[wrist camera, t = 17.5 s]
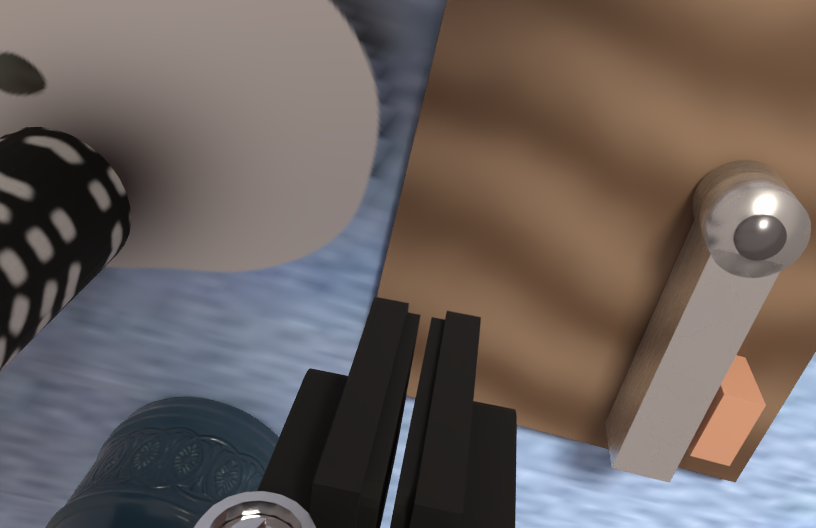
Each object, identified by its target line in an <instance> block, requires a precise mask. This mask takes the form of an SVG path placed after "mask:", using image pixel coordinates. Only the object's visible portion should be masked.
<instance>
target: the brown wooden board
mask: <svg viewBox="0 0 816 528" xmlns="http://www.w3.org/2000/svg"><path fill="white" fill-rule="evenodd" d="M738 160H752V161H757V162H761V163H763V164H766V165H768V166H769V167H771V168H772V169H773V170H775V171H776V172H777V173H778V175H779V176H780V177H781V178H782V180H783V181H784V182H785V184H786V185H787V186H788V188H789V189H790V190H791V191H792V193H793V194H794V195H795V197H796V198H797V199H798V201H799V202H800V203H801V204H802V206H803V207H804V208H805V210H806V211H807V213H808V216H809V218H810V223H811V235H810V239H809V242H808V244H807V247H806V248H805V250H804V252H803V253H802V254H801V256H800V257H799V258H798V259H797V260H796V261H795V262H794V263H793V264H791V265H790V266H789V267H787V268H785V269H784V270H782V271H780V273H779V275H778V277H777V278H776V280H775V282H774V284H773V286H772V288H771V290H770V292H769V294H768V296H767V298H766V299H765V301H764V303H763V305H762V307H761V309H760V311H759V313H758V315H757V317H756V318H755V320H754V322H753V324H752V326H751V328H750V330H749V332H748V334H747V336H746V338H745V339H744V341H743V343H742V345H741V347H740V349H739V351H738V353H737V355H738V356H741V357H745V358H746V360H747V362H748V365H749V367H750V369H751V372H752V374H753V376H754V379H755V381H756V383H757V385H758V388H759V390H760V392H761V395H762V397H763V399H764V402H765V404H766V406H765V408H764V409H763V411H762V413H761V414H760V416H759V418H758V419H757V421H756V423H755V424H754V426H753V428H752V429H751V431H750V433H749V434H748V436H747V438H746V440H745V441H744V443H743V445H742V446H741V448H740V450H739V451H738V453H737V455H736V456H735V458H734V460H733V461H732V463H731V465H730V466H727V465H723V464H719V463H716V462H712V461H708V460H704V459H700V458H697V457H693V456H690V454H689V450H688V448H687V450H686V452H685V454H684V456H683V458H682V460H681V462H680V463H679V465H678V467H679V468H683V469H686V470H690V471H694V472H698V473H702V474H705V475H709V476H713V477H717V478H721V479H724V480H728V481H732V482H736V481H737V479H738V477H739V476H740V474H741V472H742V471H743V469H744V468H745V466H746V464H747V463H748V461H749V459H750V458H751V456H752V454H753V453H754V451H755V450H756V448H757V446H758V445H759V443H760V441H761V440H762V438H763V437H764V435H765V433H766V432H767V430H768V428H769V427H770V425H771V423H772V422H773V420H774V419H775V417H776V415H777V414H778V412H779V410H780V409H781V407H782V406H783V404H784V402H785V401H786V399H787V397H788V396H789V394H790V393H791V391H792V389H793V388H794V386H795V384H796V383H797V381H798V379H799V378H800V376H801V375H802V373H803V371H804V370H805V368H806V366H807V365H808V363H809V362H810V360H811V358H812V357H813V355H814V353H815V352H816V0H447V2H446V6H445V11H444V15H443V19H442V23H441V28H440V32H439V36H438V40H437V44H436V49H435V53H434V57H433V61H432V65H431V70H430V74H429V78H428V82H427V87H426V91H425V95H424V99H423V103H422V108H421V112H420V116H419V120H418V125H417V129H416V133H415V137H414V141H413V146H412V150H411V154H410V158H409V163H408V167H407V171H406V175H405V179H404V184H403V188H402V192H401V196H400V200H399V205H398V209H397V213H396V217H395V222H394V226H393V230H392V234H391V238H390V243H389V247H388V251H387V255H386V260H385V264H384V268H383V272H382V276H381V281H380V285H379V289H378V293H377V297H380V298H385V299H390V300H395V301H400V302H405V303H409V309H408V312H409V313H414V314H419V315H421V316H420V322H419V328H418V333H417V339H416V345H415V350H414V356H413V361H412V367H411V372H410V378H409V384H408V389H407V395H406V396H409V397H413V398H416V393H417V388H418V383H419V378H420V373H421V368H422V363H423V358H424V353H425V348H426V343H427V338H428V333H429V328H430V323H431V318H432V317H434V318H440V319H445V316H446V312H447V311H452V312H457V313H462V314H467V315H473V316H478V317H481V324H480V335H479V345H478V356H477V367H476V378H475V388H474V399H473V401H476V402H481V403H486V404H491V405H496V406H501V407H506V408H511V409H515V410H516V415H517V425H519V426H523V427H527V428H531V429H534V430H538V431H542V432H546V433H550V434H553V435H557V436H561V437H565V438H569V439H572V440H576V441H580V442H584V443H588V444H591V445H595V446H599V447H603V448H607V449H609V446H608V439H607V432H606V424H605V422H606V420H607V417H608V415H609V413H610V410H611V408H612V406H613V404H614V401H615V399H616V397H617V395H618V392H619V390H620V388H621V385H622V383H623V381H624V379H625V376H626V374H627V372H628V370H629V367H630V365H631V363H632V360H633V358H634V356H635V354H636V351H637V349H638V347H639V345H640V342H641V340H642V338H643V335H644V333H645V331H646V329H647V326H648V324H649V322H650V320H651V317H652V315H653V313H654V310H655V308H656V306H657V304H658V301H659V299H660V297H661V295H662V292H663V290H664V288H665V285H666V283H667V281H668V279H669V276H670V274H671V272H672V270H673V267H674V265H675V263H676V260H677V258H678V256H679V254H680V251H681V249H682V247H683V245H684V242H685V240H686V238H687V235H688V233H689V231H690V229H691V226H692V224H693V222H694V220H695V219H694V216H693V212H692V200H693V196H694V193H695V190H696V188H697V186H698V185H699V183H700V182H701V181H702V180H703V178H704V177H705V176H706V175H707V174H709V173H710V172H711V171H713V170H714V169H716V168H717V167H719V166H721V165H724V164H726V163H729V162H733V161H738Z"/></svg>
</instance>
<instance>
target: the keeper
mask: <svg viewBox="0 0 816 528" xmlns="http://www.w3.org/2000/svg"><path fill="white" fill-rule="evenodd" d="M765 406H766V404H765V402H764V399H763V397H762V395H761V392H760V390H759V388H758V385H757V383H756V381H755V379H754V376H753V374H752V372H751V369H750V367H749V365H748V362H747V360H746V358H745V357H741V356H738V355H736V357H735V359H734V360H733V362H732V364H731V366H730V368H729V370H728V372H727V374H726V376H725V378H724V380H723V381H722V383H721V385H720V387H719V389H718V391H717V393H716V395H715V397H714V399H713V400H712V402H711V404H710V406H709V408H708V410H707V412H706V414H705V416H704V418H703V420H702V421H701V423H700V425H699V427H698V429H697V431H696V433H695V435H694V437H693V439H692V441H691V442H690V444H689V446H688V450H689V454H690V456H693V457H697V458H700V459H704V460H708V461H712V462H716V463H719V464H723V465H727V466H730V465H731V463H732V461H733V460H734V458H735V456H736V455H737V453H738V451H739V450H740V448H741V446H742V445H743V443H744V441H745V440H746V438H747V436H748V434H749V433H750V431H751V429H752V428H753V426H754V424H755V423H756V421H757V419H758V418H759V416H760V414H761V413H762V411H763V409H764V408H765Z"/></svg>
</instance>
